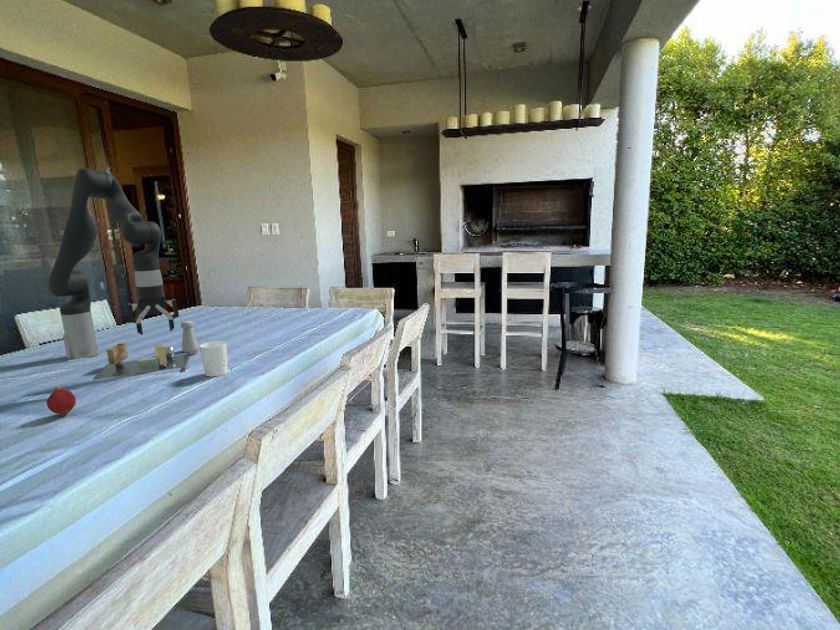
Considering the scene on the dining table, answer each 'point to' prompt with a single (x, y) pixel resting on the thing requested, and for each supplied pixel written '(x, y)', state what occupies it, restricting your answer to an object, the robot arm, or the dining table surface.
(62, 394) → the onion
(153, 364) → the level plate
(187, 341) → the salt shaker
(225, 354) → the white cup
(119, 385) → the dining table surface
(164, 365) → the pale yellow sponge
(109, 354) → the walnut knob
